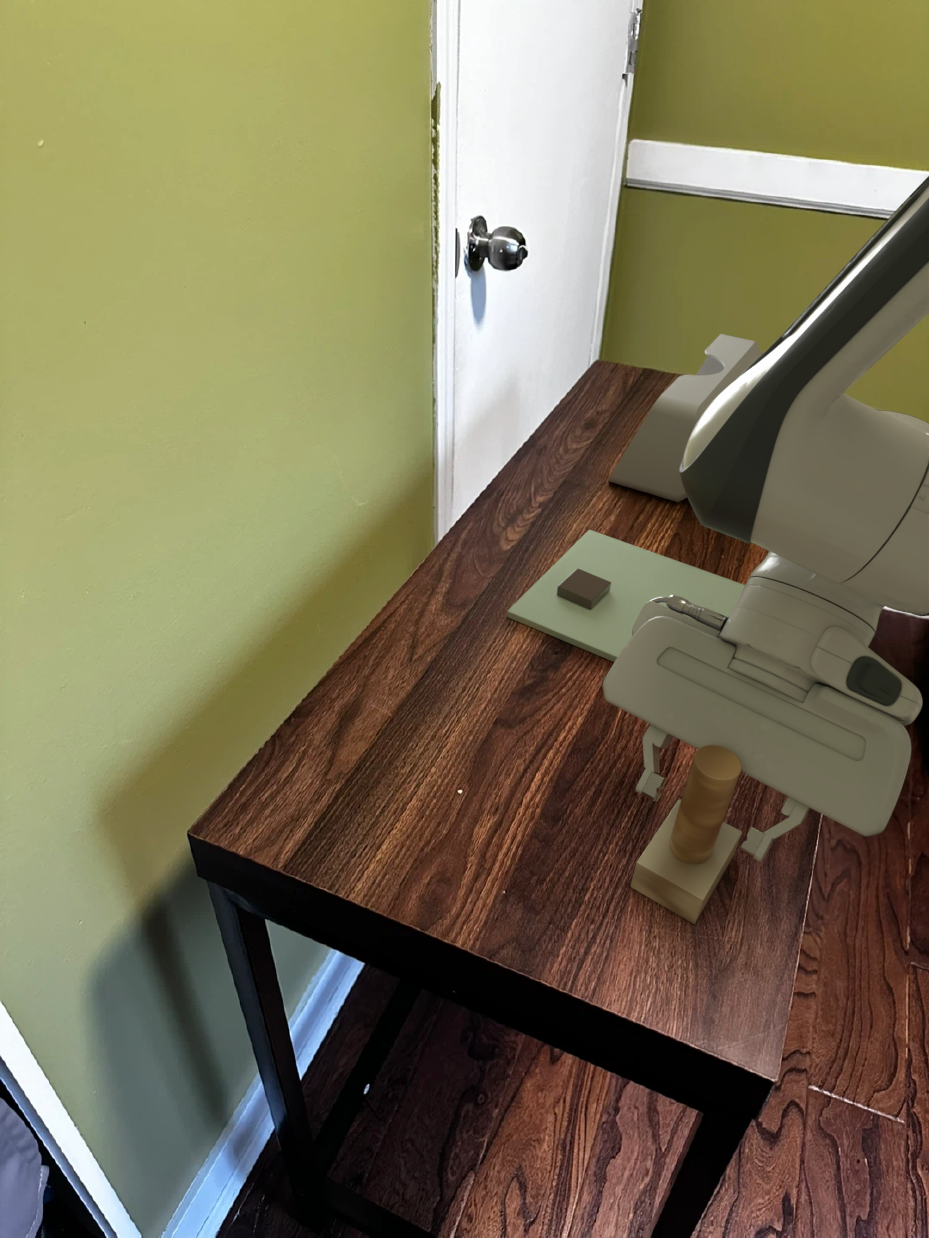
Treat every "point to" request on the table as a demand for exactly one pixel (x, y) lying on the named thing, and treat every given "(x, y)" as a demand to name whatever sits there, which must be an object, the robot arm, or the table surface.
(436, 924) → the table surface
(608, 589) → the brown flat square block
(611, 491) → the table surface
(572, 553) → the mat
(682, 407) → the grey stepped block
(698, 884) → the stamp
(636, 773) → the table surface
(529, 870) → the table surface
